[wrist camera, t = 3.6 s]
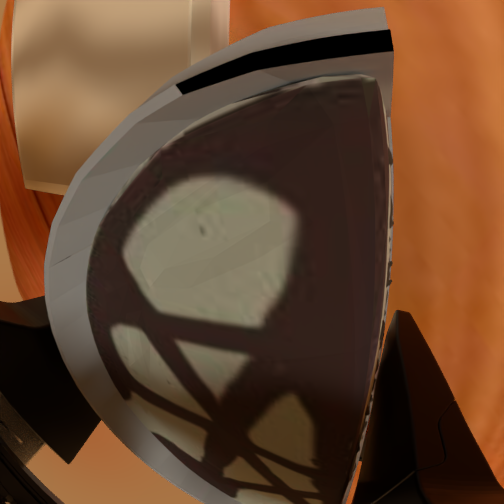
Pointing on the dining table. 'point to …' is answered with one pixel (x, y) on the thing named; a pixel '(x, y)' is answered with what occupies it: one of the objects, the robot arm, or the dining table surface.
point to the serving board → (96, 71)
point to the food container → (238, 264)
